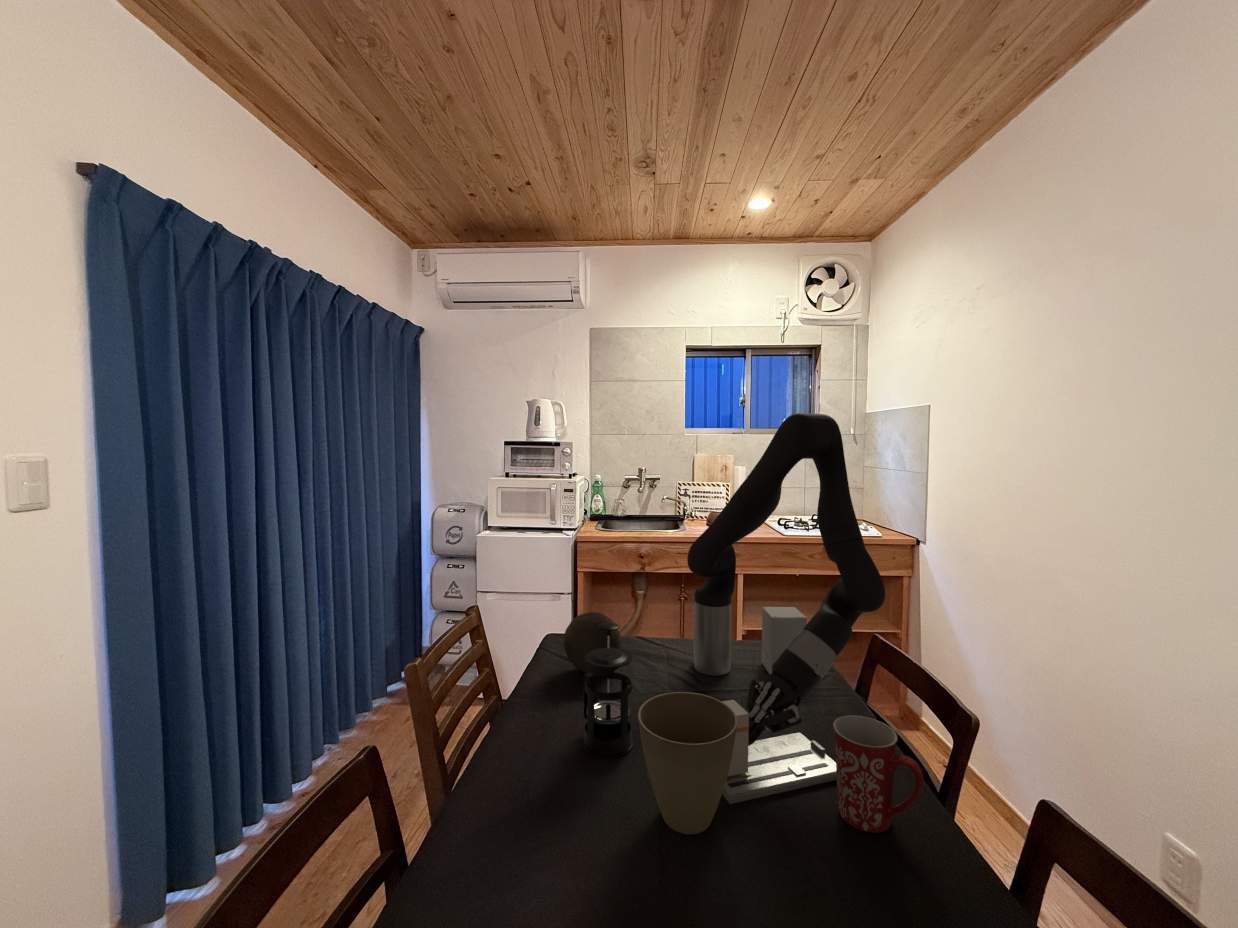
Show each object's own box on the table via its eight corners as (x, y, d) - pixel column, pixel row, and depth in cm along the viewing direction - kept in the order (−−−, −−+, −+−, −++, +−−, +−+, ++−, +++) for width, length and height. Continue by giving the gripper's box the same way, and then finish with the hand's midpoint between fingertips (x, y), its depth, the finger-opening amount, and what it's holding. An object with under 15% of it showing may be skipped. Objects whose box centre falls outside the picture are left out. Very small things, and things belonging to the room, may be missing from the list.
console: (696, 759, 93) (696, 746, 93) (799, 739, 100) (799, 727, 99) (729, 804, 82) (729, 788, 81) (843, 777, 88) (844, 763, 88)
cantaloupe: (571, 660, 136) (571, 604, 136) (624, 663, 134) (624, 606, 134) (557, 684, 122) (557, 622, 122) (616, 688, 120) (616, 625, 120)
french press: (645, 746, 97) (646, 625, 97) (608, 767, 91) (609, 638, 90) (604, 721, 106) (604, 611, 105) (567, 739, 99) (568, 621, 99)
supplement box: (807, 677, 126) (808, 617, 126) (770, 677, 127) (771, 617, 126) (795, 662, 136) (795, 606, 135) (760, 662, 136) (761, 605, 135)
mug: (819, 812, 80) (821, 726, 79) (849, 788, 85) (850, 708, 85) (906, 864, 70) (908, 766, 69) (933, 833, 76) (935, 742, 75)
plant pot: (637, 784, 86) (637, 690, 86) (726, 786, 86) (727, 692, 85) (637, 854, 71) (638, 742, 71) (745, 857, 71) (747, 744, 70)
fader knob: (712, 758, 90) (712, 702, 90) (732, 754, 91) (733, 699, 91) (726, 776, 85) (727, 717, 85) (748, 772, 86) (749, 713, 86)
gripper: (770, 636, 98) (711, 709, 94) (816, 664, 85) (750, 750, 82) (793, 660, 99) (736, 733, 96) (842, 691, 87) (778, 776, 83)
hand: (743, 740), depth 89 cm, fingers closed
